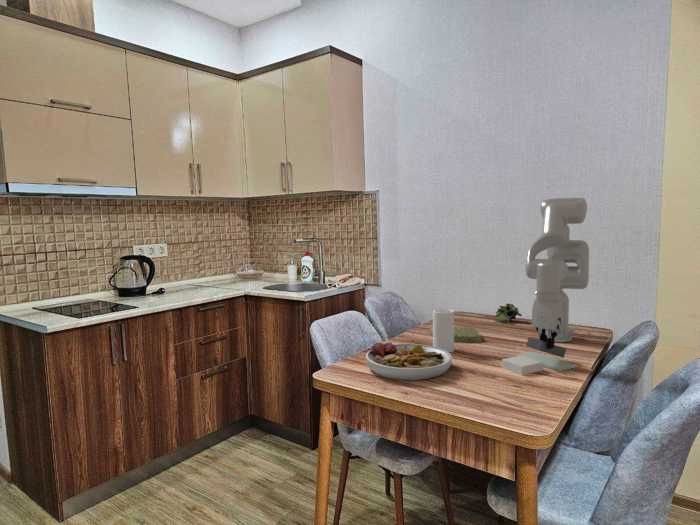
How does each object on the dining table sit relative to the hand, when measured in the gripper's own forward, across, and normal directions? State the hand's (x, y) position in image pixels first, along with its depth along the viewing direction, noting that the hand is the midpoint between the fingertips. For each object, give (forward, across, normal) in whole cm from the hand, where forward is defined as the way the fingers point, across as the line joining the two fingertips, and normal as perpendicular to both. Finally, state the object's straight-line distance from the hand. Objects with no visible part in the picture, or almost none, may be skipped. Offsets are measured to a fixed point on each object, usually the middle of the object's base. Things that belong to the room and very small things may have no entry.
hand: (546, 347), depth 164 cm
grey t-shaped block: (+2, 0, +1) cm, 2 cm away
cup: (+6, -32, -21) cm, 39 cm away
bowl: (+7, -20, -46) cm, 50 cm away
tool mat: (+6, -2, +2) cm, 7 cm away
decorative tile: (+7, -46, -4) cm, 47 cm away
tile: (+5, 0, -7) cm, 8 cm away
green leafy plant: (+7, -56, +37) cm, 68 cm away
